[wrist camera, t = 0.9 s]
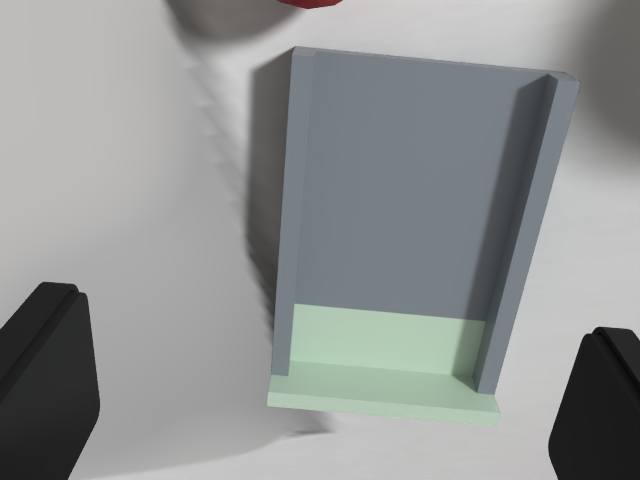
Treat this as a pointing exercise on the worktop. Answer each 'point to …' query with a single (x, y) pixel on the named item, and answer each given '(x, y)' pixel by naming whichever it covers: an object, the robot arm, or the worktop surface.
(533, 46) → the worktop surface
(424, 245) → the channel
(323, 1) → the onion
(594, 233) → the worktop surface
